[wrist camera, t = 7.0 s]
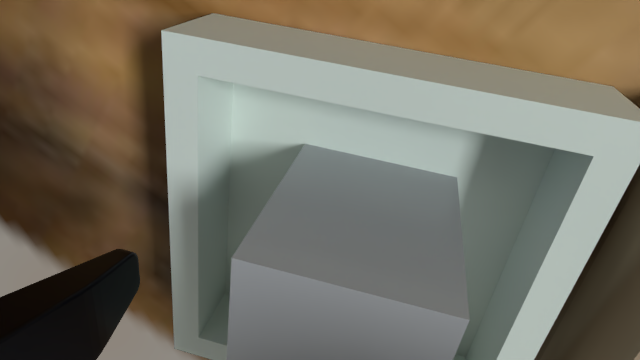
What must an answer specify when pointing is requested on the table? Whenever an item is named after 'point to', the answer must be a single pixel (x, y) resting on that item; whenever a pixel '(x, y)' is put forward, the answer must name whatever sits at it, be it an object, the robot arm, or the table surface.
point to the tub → (395, 147)
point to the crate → (604, 294)
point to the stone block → (351, 265)
